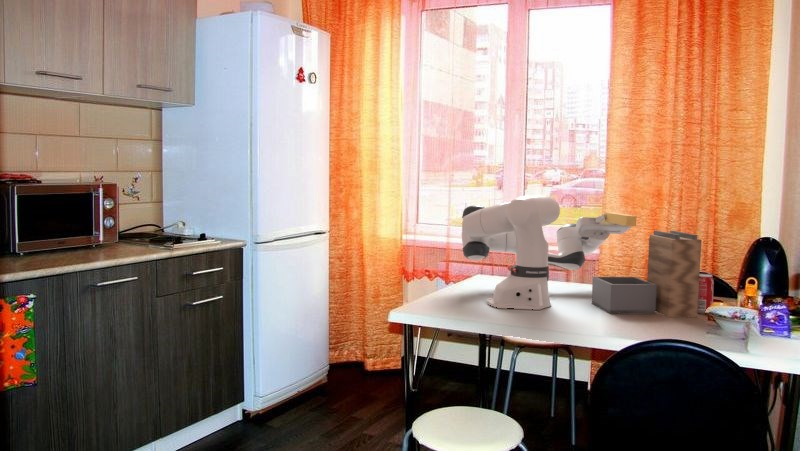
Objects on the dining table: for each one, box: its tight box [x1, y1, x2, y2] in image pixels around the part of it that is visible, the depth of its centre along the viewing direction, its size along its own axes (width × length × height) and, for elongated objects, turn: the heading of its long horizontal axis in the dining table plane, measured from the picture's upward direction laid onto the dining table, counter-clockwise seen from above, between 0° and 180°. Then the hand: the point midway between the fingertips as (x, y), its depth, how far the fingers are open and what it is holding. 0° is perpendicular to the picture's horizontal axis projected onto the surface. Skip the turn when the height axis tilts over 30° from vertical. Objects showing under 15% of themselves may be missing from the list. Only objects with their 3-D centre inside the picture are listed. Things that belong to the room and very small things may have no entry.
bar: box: [603, 211, 637, 227], centre depth 232 cm, size 4×20×4 cm, turn 5°
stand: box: [646, 230, 702, 318], centre depth 219 cm, size 10×16×28 cm, turn 5°
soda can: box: [697, 273, 715, 315], centre depth 221 cm, size 7×7×13 cm
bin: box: [591, 276, 657, 315], centre depth 224 cm, size 16×16×10 cm
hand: (611, 216), depth 239 cm, fingers closed on bar, 3 cm apart
